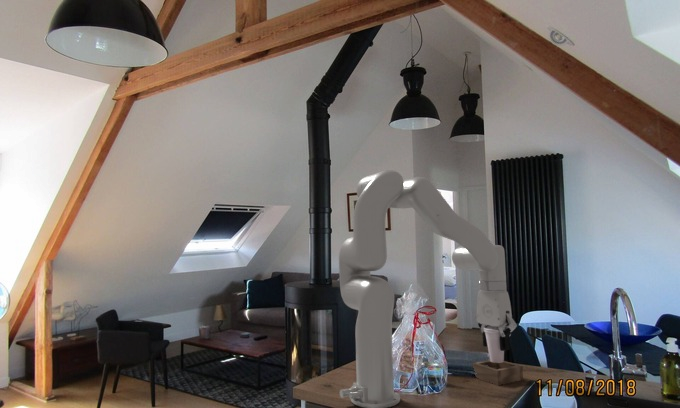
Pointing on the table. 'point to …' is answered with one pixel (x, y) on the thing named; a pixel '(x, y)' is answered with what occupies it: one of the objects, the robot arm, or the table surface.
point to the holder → (498, 372)
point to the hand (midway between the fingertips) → (496, 347)
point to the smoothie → (494, 344)
